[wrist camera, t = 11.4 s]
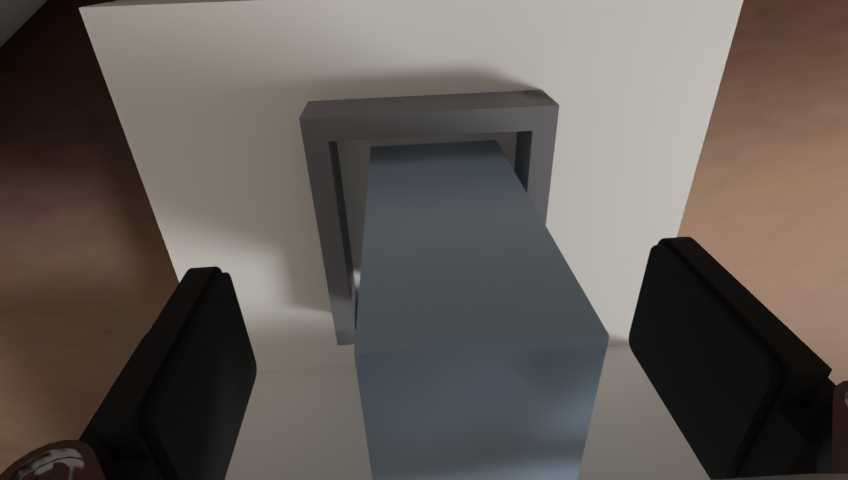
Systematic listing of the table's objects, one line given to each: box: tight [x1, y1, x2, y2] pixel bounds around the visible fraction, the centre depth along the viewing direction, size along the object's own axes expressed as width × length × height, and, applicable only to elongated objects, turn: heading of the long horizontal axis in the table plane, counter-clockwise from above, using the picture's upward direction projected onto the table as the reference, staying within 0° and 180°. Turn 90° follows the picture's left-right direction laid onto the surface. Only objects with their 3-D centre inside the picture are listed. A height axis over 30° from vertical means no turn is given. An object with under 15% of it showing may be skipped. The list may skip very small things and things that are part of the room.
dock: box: [79, 0, 743, 480], centre depth 15 cm, size 24×16×10 cm, turn 2°
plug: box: [354, 140, 609, 480], centre depth 11 cm, size 4×4×8 cm
